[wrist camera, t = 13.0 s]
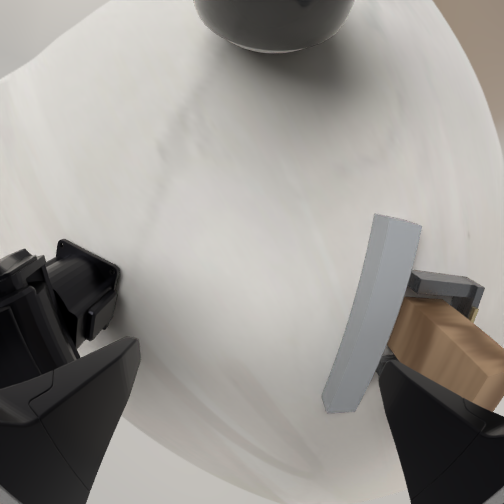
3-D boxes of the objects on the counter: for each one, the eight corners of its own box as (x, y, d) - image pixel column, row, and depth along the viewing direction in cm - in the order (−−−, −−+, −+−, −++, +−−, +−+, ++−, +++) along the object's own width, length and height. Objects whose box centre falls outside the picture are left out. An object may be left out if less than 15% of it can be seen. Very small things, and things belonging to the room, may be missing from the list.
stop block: (387, 344, 23) (448, 434, 11) (404, 296, 21) (488, 376, 10) (424, 343, 23) (488, 418, 11) (442, 299, 21) (521, 365, 10)
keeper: (372, 365, 23) (385, 387, 20) (406, 268, 21) (427, 283, 17) (433, 361, 23) (448, 378, 20) (466, 277, 21) (487, 289, 18)
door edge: (321, 395, 24) (326, 413, 22) (374, 213, 19) (389, 218, 17) (348, 395, 24) (355, 411, 22) (405, 220, 19) (422, 225, 17)
